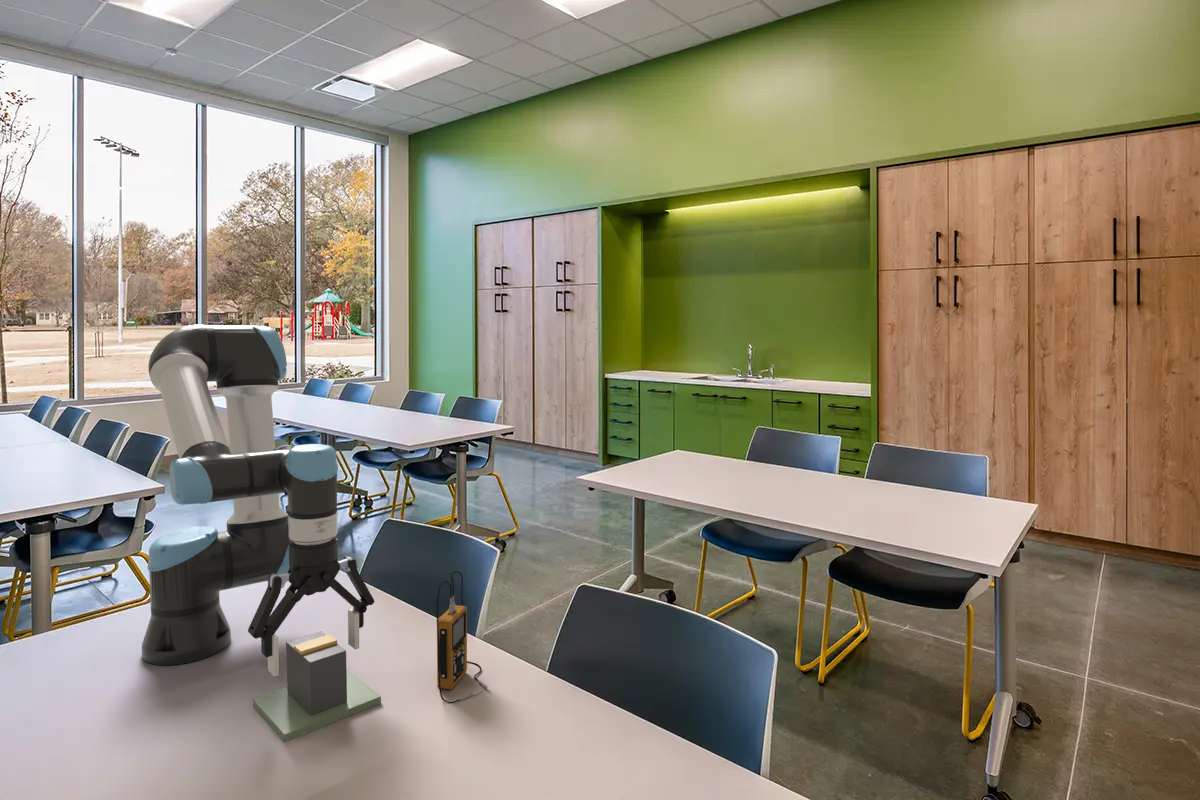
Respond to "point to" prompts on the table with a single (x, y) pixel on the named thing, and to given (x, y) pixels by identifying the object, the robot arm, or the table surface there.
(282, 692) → the board
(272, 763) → the table surface
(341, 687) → the block
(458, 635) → the multimeter
